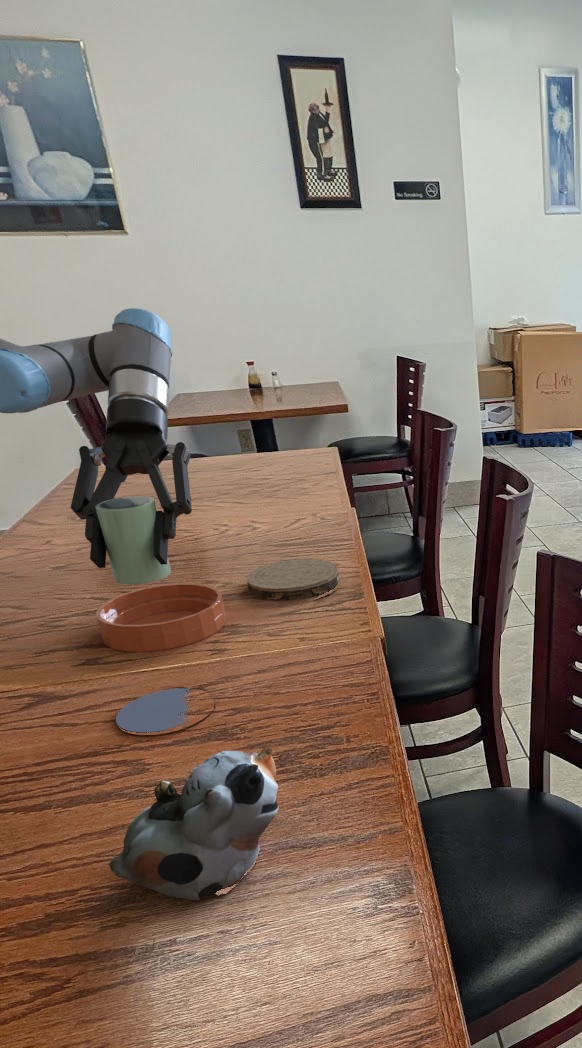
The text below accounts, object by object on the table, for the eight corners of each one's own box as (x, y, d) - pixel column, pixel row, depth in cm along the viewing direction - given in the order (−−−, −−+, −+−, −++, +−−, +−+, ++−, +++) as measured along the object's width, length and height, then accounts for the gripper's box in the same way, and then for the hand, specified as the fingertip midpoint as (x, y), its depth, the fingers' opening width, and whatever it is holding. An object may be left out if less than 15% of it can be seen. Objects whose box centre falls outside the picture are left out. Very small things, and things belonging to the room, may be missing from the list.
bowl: (79, 655, 124) (70, 625, 122) (141, 610, 141) (134, 583, 139) (196, 657, 123) (189, 626, 121) (245, 611, 140) (239, 583, 138)
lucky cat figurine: (161, 822, 86) (204, 703, 84) (269, 864, 87) (315, 747, 85) (81, 883, 72) (132, 740, 70) (212, 932, 73) (266, 793, 71)
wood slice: (243, 608, 141) (240, 592, 140) (255, 577, 155) (252, 562, 154) (338, 600, 144) (336, 584, 142) (341, 570, 158) (339, 556, 156)
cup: (104, 584, 108) (83, 509, 103) (131, 566, 114) (113, 495, 110) (156, 584, 108) (137, 509, 103) (180, 567, 114) (164, 495, 109)
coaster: (97, 735, 103) (96, 731, 103) (146, 690, 114) (145, 687, 114) (190, 737, 102) (189, 733, 102) (230, 692, 113) (229, 688, 113)
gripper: (221, 426, 118) (217, 569, 111) (74, 431, 116) (61, 578, 109) (204, 392, 111) (200, 543, 104) (48, 398, 109) (32, 553, 102)
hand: (129, 561), depth 106 cm, fingers closed on cup, 7 cm apart
